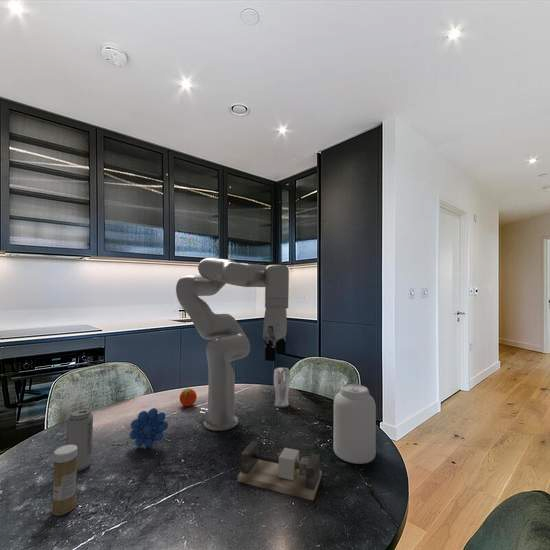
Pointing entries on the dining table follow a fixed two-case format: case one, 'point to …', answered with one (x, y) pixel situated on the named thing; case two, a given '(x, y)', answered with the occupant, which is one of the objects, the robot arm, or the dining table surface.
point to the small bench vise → (266, 473)
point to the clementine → (188, 397)
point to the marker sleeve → (288, 463)
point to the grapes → (148, 428)
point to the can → (354, 424)
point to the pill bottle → (64, 479)
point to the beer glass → (281, 386)
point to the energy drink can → (81, 436)
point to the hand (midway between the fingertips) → (275, 357)
